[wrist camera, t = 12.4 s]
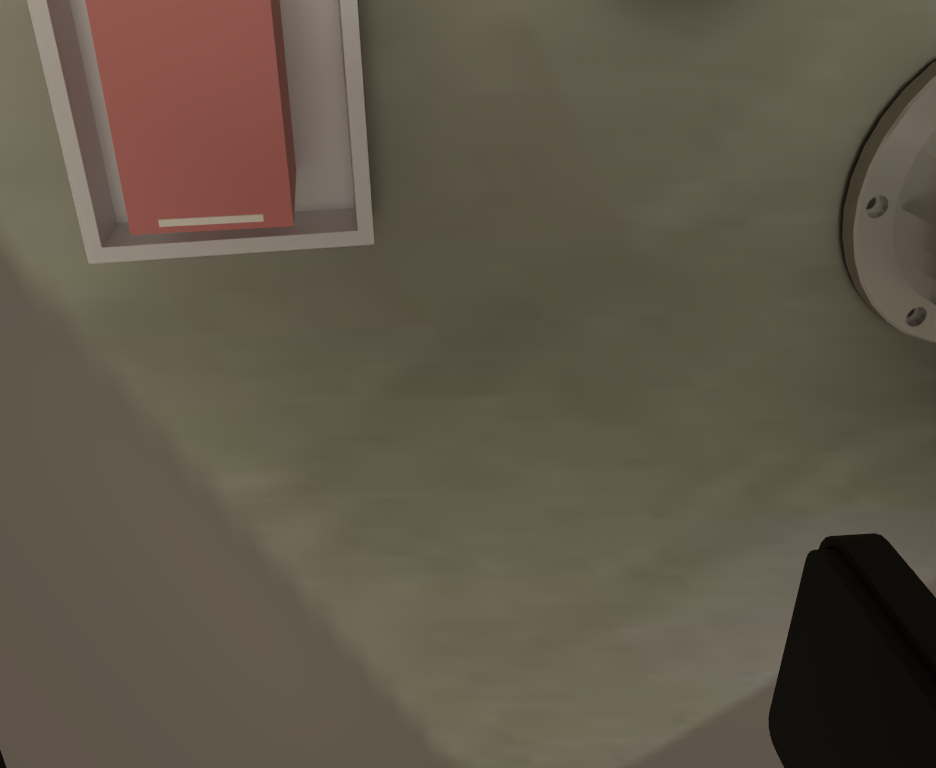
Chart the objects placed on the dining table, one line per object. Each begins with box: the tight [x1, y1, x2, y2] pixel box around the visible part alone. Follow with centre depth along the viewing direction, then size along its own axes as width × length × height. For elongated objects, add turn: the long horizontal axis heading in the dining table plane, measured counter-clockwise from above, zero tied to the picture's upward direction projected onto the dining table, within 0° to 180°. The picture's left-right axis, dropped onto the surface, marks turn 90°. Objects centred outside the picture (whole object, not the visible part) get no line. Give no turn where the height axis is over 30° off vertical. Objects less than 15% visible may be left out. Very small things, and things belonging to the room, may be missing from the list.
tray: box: [27, 0, 374, 264], centre depth 27 cm, size 9×11×3 cm
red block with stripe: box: [85, 0, 296, 235], centre depth 25 cm, size 4×7×6 cm, turn 0°
